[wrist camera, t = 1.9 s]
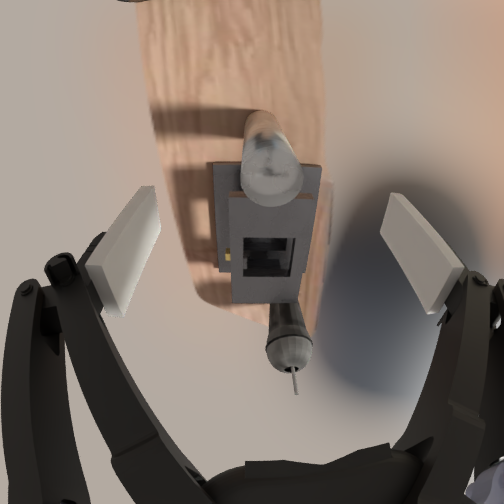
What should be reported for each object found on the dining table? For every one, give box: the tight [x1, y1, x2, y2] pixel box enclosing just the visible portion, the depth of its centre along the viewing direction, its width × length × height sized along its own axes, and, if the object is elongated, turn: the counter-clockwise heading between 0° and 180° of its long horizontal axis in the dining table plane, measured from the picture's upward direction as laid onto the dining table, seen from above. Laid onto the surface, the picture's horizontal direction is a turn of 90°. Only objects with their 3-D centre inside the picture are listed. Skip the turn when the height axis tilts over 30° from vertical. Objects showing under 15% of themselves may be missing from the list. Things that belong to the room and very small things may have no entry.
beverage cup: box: [266, 299, 313, 395], centre depth 41 cm, size 7×7×20 cm
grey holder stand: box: [213, 162, 322, 303], centre depth 36 cm, size 18×14×8 cm
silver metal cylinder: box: [240, 110, 304, 207], centre depth 24 cm, size 4×4×18 cm
